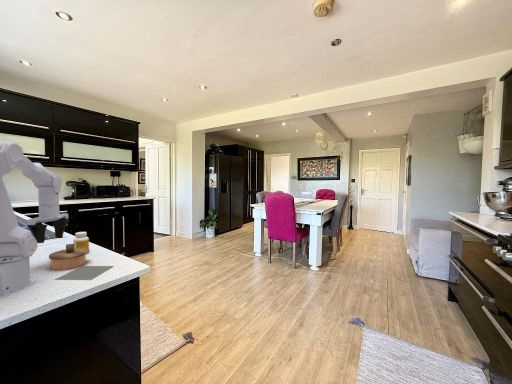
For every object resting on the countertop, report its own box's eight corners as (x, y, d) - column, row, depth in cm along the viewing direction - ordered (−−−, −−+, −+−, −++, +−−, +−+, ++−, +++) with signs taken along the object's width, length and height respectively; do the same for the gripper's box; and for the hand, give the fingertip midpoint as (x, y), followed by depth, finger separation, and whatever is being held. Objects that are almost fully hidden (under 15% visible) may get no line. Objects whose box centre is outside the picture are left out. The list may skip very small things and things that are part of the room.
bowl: (71, 271, 81) (71, 259, 81) (43, 271, 81) (43, 258, 81) (91, 261, 91) (91, 250, 91) (66, 261, 91) (66, 250, 91)
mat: (91, 281, 73) (91, 279, 73) (54, 280, 73) (54, 279, 73) (114, 267, 85) (114, 266, 85) (82, 267, 85) (82, 265, 85)
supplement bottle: (92, 253, 102) (91, 231, 102) (79, 256, 97) (79, 234, 97) (83, 251, 104) (82, 231, 103) (70, 255, 98) (70, 233, 98)
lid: (71, 260, 80) (71, 249, 80) (39, 259, 80) (39, 248, 80) (97, 250, 92) (96, 240, 92) (68, 249, 92) (68, 240, 92)
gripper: (40, 207, 78) (42, 245, 79) (75, 203, 93) (76, 235, 93) (21, 206, 78) (22, 245, 79) (58, 202, 93) (59, 235, 93)
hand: (50, 240), depth 86 cm, fingers open, 7 cm apart
